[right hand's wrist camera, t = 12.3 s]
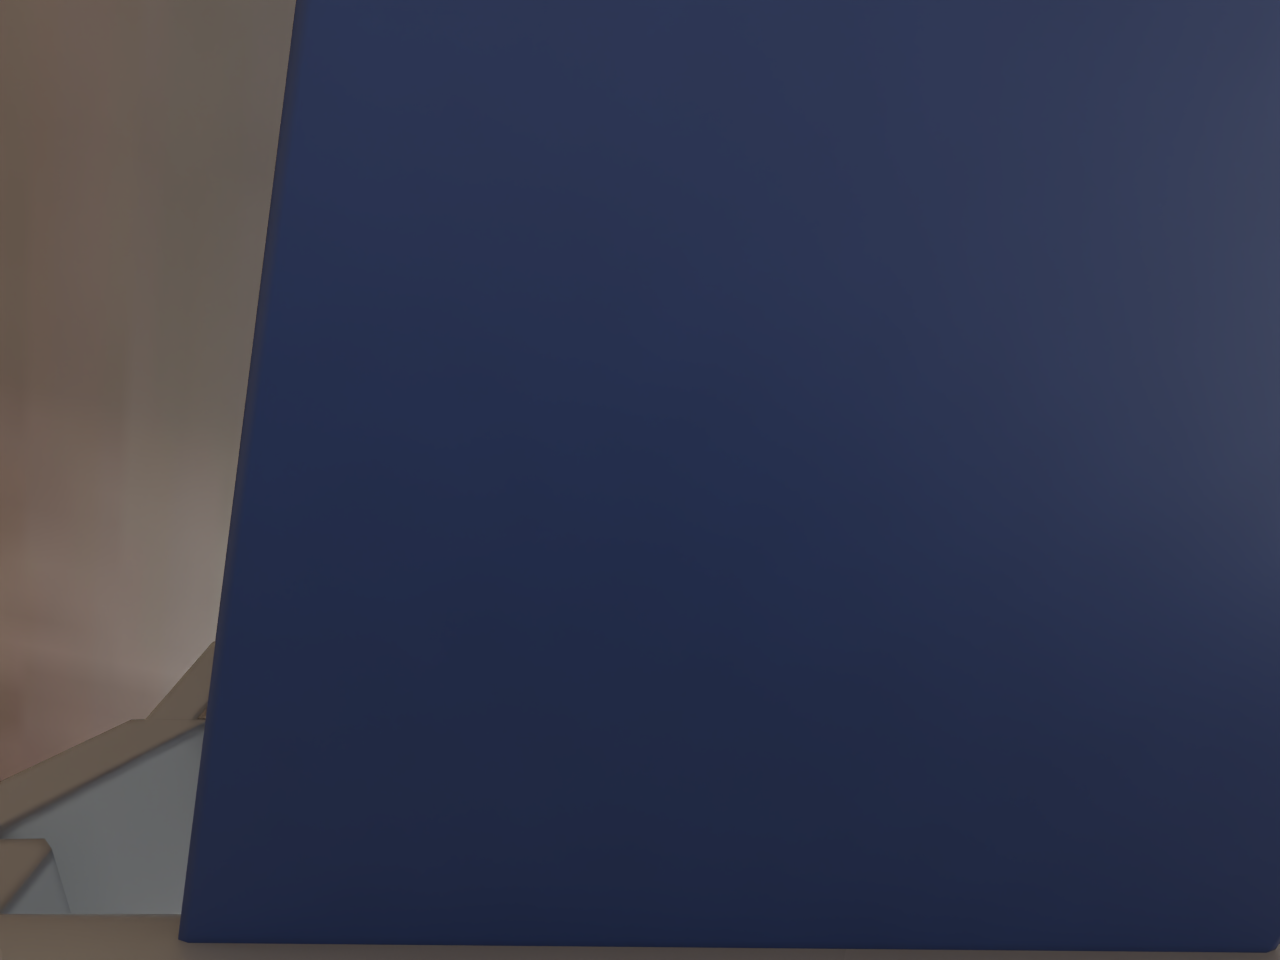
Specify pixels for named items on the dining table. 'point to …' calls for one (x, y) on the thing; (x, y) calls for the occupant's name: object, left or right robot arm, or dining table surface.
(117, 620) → the dining table surface
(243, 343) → the dining table surface
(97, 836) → the right robot arm
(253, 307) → the dining table surface
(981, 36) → the box
